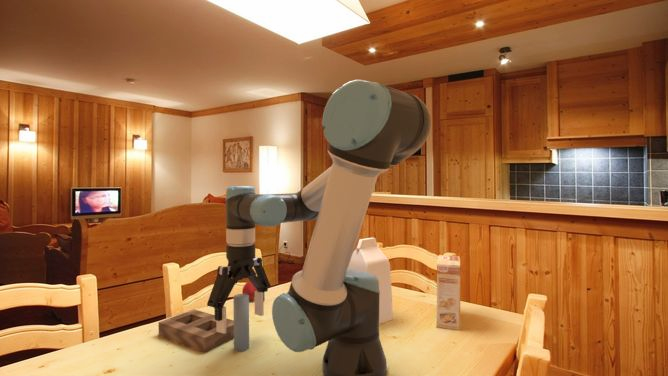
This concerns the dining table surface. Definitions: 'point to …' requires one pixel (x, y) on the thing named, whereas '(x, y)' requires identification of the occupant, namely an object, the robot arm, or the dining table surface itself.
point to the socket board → (196, 330)
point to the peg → (241, 322)
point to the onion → (249, 290)
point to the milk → (375, 273)
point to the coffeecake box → (448, 292)
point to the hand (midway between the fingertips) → (241, 322)
